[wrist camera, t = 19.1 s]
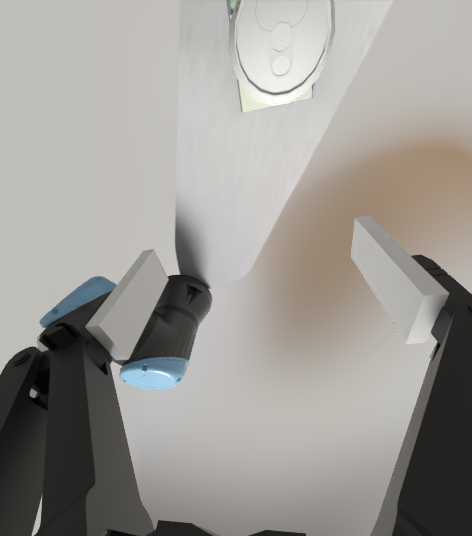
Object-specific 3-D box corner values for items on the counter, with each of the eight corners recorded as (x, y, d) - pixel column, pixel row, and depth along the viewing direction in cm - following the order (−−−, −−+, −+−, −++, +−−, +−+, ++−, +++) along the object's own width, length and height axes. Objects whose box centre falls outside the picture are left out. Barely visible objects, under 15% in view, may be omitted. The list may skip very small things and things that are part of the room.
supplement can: (237, 22, 26) (217, -40, 14) (309, 7, 25) (351, -73, 13) (244, 106, 31) (233, 111, 19) (304, 97, 30) (332, 97, 18)
